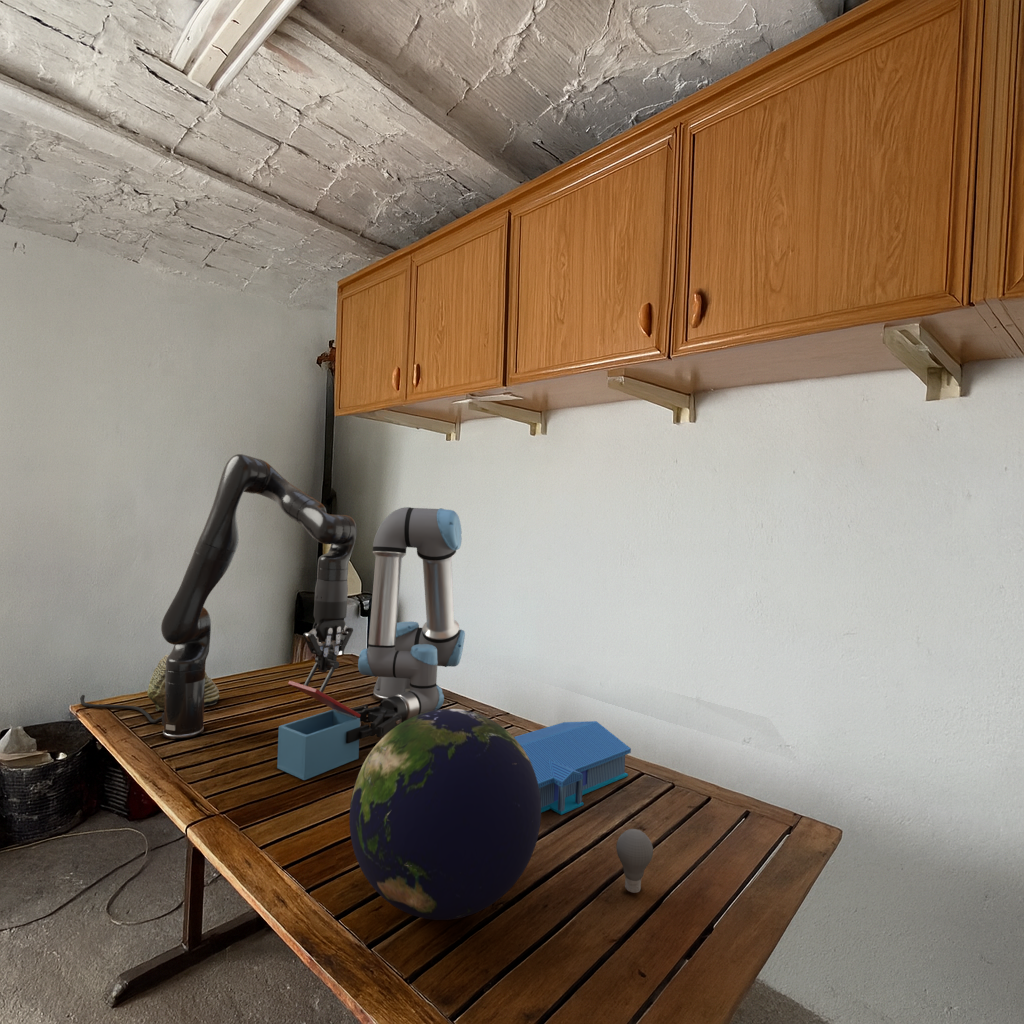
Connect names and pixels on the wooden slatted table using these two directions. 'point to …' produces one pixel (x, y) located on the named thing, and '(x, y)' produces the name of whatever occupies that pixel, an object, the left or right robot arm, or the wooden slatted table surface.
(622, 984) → the wooden slatted table surface
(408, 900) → the globe
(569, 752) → the model building
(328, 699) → the lid
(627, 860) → the light bulb
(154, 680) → the fossil
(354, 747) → the chest
